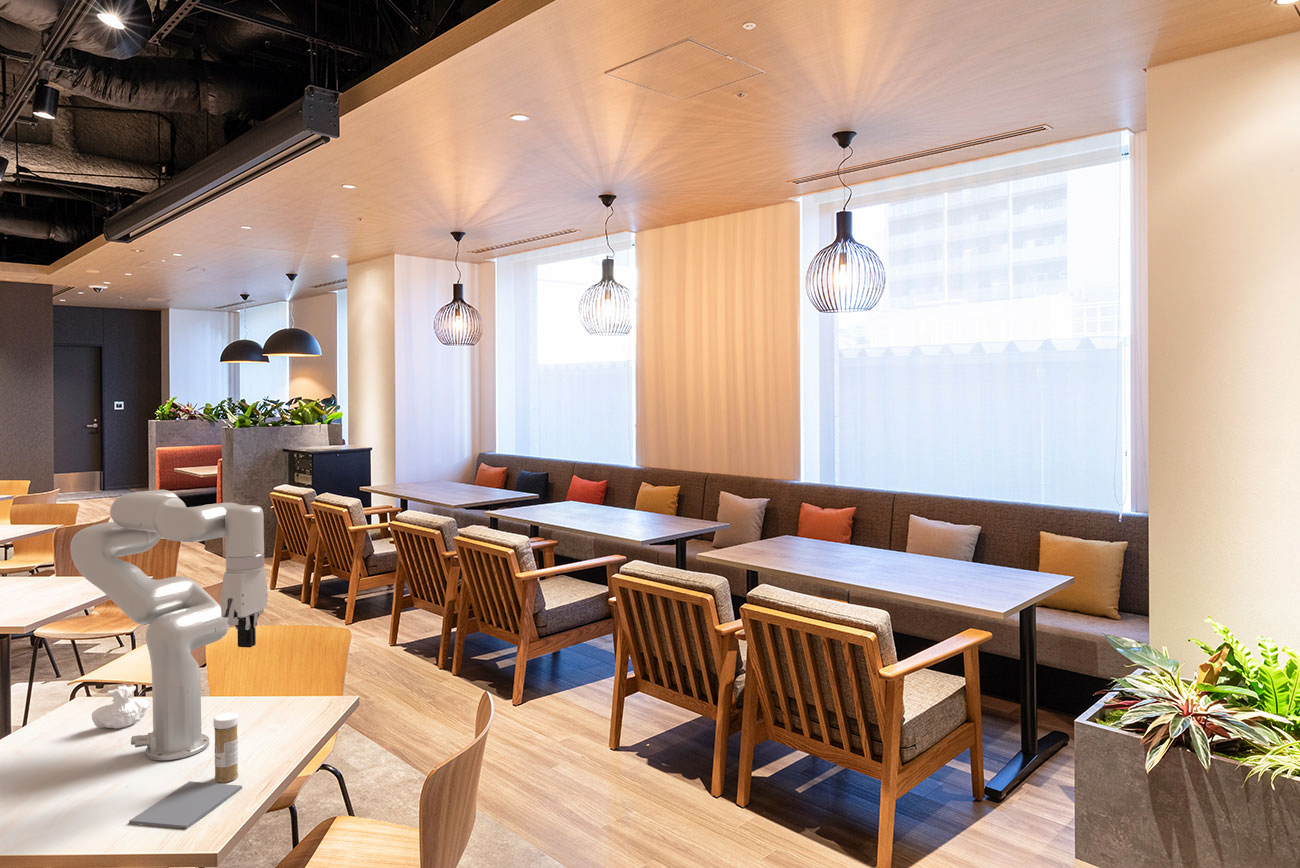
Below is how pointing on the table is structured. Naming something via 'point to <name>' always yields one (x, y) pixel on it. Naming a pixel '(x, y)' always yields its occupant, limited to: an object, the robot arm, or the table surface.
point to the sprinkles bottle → (226, 747)
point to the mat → (186, 805)
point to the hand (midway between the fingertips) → (246, 646)
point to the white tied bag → (120, 709)
